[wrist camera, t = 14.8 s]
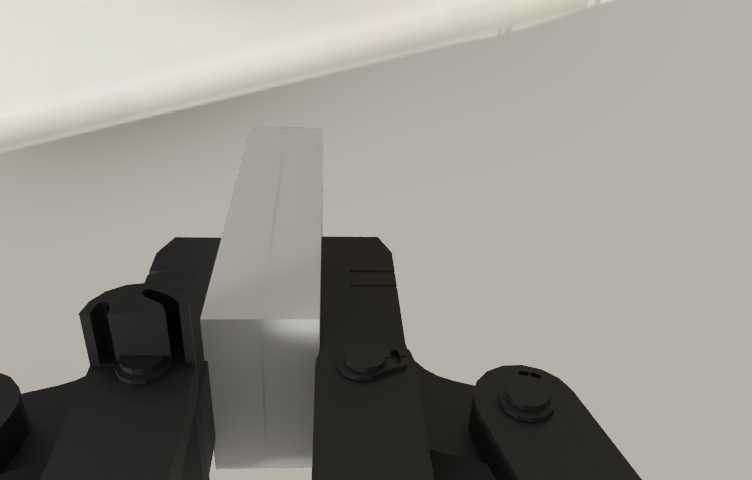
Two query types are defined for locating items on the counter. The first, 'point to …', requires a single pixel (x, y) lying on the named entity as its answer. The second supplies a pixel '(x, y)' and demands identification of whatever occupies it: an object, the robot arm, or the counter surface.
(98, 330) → the robot arm
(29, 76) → the counter surface
